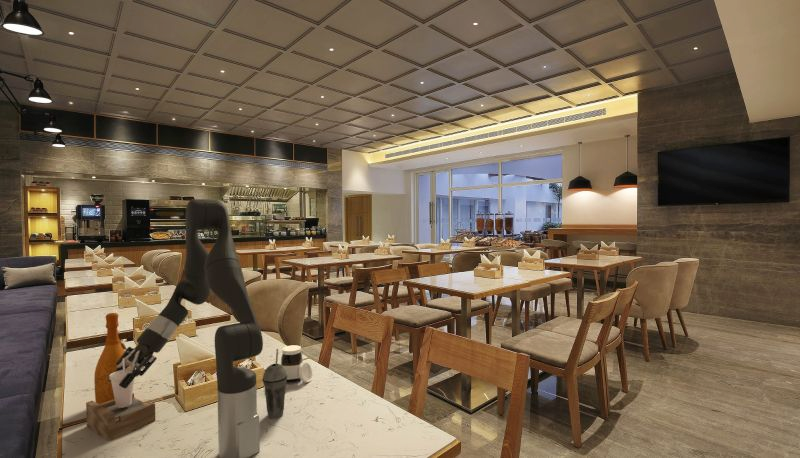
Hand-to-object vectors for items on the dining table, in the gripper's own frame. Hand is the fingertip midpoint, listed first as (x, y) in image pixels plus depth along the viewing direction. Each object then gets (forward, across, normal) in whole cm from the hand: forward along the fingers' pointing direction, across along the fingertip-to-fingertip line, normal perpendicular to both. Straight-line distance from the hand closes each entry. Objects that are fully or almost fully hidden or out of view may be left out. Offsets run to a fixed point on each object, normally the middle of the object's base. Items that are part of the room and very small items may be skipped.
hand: (116, 384), depth 113 cm
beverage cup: (-11, +35, +29) cm, 46 cm away
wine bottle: (+5, -15, +12) cm, 20 cm away
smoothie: (+4, 0, +6) cm, 7 cm away
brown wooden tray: (+8, 0, +9) cm, 12 cm away
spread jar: (-26, +21, +44) cm, 56 cm away
